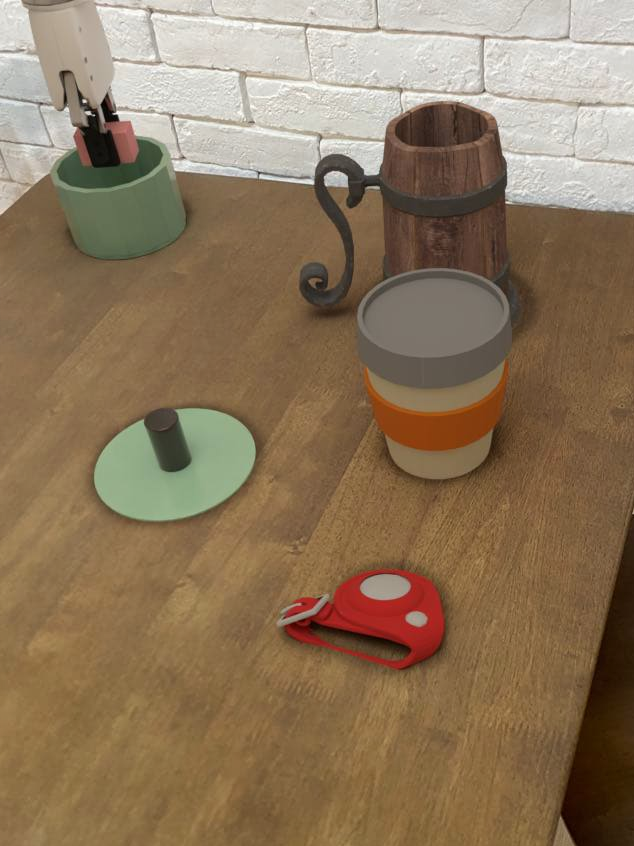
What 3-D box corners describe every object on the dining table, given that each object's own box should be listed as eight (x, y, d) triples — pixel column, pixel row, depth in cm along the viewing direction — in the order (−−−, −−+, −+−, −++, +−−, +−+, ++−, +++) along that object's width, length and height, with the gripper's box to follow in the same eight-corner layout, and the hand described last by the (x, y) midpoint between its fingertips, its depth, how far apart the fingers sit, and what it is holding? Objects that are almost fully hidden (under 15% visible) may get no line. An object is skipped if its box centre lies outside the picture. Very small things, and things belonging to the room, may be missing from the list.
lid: (80, 532, 81) (56, 482, 76) (116, 420, 91) (96, 369, 86) (248, 525, 80) (233, 474, 76) (265, 413, 90) (254, 362, 85)
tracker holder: (397, 545, 76) (474, 599, 69) (398, 591, 78) (473, 648, 71) (263, 592, 70) (333, 657, 63) (268, 641, 72) (336, 709, 65)
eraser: (82, 166, 107) (72, 136, 105) (88, 153, 109) (78, 124, 107) (134, 162, 107) (125, 132, 104) (139, 150, 109) (130, 120, 106)
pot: (62, 262, 110) (36, 195, 104) (89, 204, 120) (66, 138, 113) (176, 256, 110) (157, 188, 103) (194, 198, 119) (177, 131, 112)
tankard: (519, 263, 104) (525, 78, 89) (537, 357, 93) (547, 163, 78) (310, 278, 105) (280, 97, 90) (302, 372, 94) (267, 183, 79)
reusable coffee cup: (468, 389, 90) (466, 250, 79) (535, 469, 82) (543, 327, 71) (349, 432, 87) (329, 294, 76) (406, 519, 79) (393, 379, 68)
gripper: (39, -43, 100) (94, 127, 114) (-6, 15, 89) (61, 196, 103) (108, -49, 99) (155, 123, 113) (71, 9, 89) (128, 191, 102)
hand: (110, 156), depth 108 cm, fingers closed on eraser, 3 cm apart
